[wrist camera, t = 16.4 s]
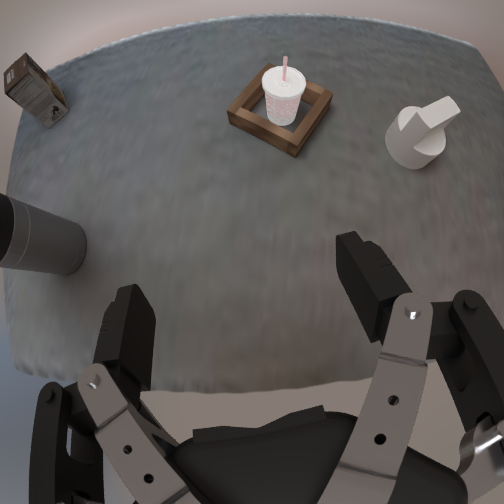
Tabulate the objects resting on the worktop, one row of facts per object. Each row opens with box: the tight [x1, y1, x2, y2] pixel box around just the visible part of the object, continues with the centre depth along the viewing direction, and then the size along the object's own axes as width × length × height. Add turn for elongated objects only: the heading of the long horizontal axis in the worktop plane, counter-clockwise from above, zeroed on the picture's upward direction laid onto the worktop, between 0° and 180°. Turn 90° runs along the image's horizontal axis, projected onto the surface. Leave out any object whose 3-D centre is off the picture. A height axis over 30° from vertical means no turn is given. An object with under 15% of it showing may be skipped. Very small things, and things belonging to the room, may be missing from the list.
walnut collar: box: [227, 63, 333, 158], centre depth 42 cm, size 12×12×4 cm
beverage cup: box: [262, 56, 306, 126], centre depth 37 cm, size 6×6×14 cm
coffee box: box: [4, 53, 69, 128], centre depth 39 cm, size 9×6×16 cm
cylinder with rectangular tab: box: [385, 96, 461, 170], centre depth 37 cm, size 9×9×12 cm
